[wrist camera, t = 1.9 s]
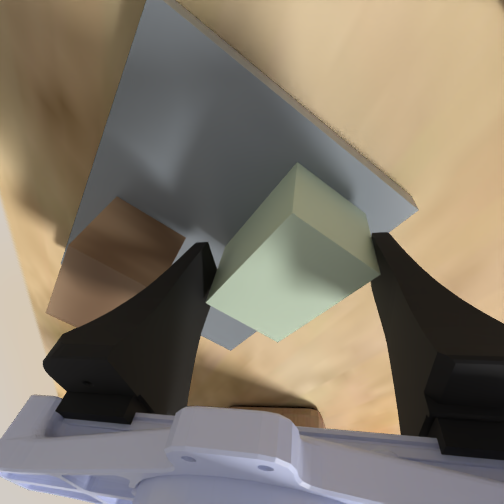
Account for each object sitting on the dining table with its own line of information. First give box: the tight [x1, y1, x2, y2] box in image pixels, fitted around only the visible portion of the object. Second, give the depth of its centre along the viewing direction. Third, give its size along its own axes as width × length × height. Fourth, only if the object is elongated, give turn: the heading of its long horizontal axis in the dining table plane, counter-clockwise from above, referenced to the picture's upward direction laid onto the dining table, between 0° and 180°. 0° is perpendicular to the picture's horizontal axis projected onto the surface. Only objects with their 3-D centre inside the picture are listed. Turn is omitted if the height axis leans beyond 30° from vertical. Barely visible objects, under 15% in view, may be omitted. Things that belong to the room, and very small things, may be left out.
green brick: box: [206, 162, 381, 342], centre depth 14 cm, size 4×6×4 cm, turn 146°
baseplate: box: [61, 0, 418, 351], centre depth 17 cm, size 13×16×1 cm
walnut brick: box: [46, 197, 186, 328], centre depth 16 cm, size 4×6×4 cm, turn 146°
